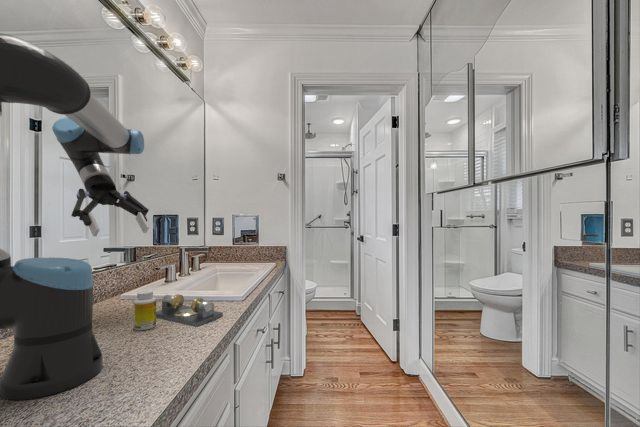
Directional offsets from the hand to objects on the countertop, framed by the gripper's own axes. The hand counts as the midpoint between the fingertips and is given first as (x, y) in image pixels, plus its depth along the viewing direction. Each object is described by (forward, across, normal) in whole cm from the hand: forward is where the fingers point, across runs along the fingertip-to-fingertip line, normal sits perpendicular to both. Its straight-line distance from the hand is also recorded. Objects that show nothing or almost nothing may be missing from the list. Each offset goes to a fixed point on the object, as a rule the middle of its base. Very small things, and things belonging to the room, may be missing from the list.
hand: (123, 231), depth 88 cm
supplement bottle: (+25, -2, -14) cm, 29 cm away
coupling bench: (+26, -14, -12) cm, 32 cm away
